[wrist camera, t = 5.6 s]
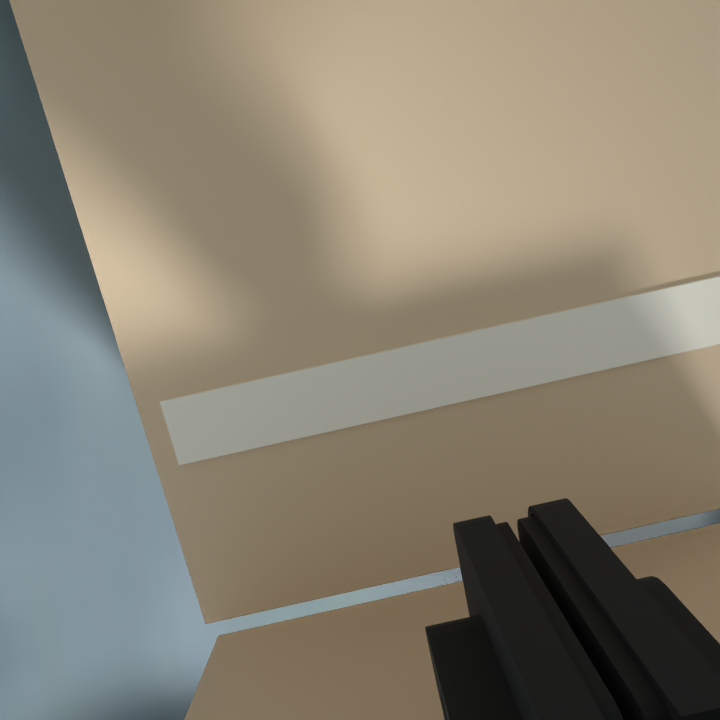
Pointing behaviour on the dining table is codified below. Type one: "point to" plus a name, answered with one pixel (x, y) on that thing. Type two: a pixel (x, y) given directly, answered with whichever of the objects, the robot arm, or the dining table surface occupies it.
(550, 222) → the carton
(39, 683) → the dining table surface
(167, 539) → the dining table surface
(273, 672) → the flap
